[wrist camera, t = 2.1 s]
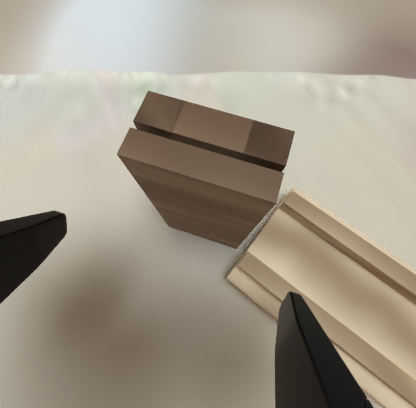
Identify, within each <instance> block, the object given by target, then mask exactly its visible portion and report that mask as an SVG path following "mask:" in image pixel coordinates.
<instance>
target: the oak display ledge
mask: <svg viewBox="0 0 416 408" xmlns="http://www.w3.org/2000/svg"><path fill="white" fill-rule="evenodd" d="M225 279H226V280H228V281H229V282H230V283H231V284H233V285H234V286H235V287H236V288H238V289H239V290H240V291H241V292H242V293H244V294H245V295H246V296H247V297H249V298H250V299H251V300H252V301H254V302H255V303H256V304H257V305H258V306H260V307H261V308H262V309H263V310H265V311H266V312H267V313H268V314H270V315H271V316H272V317H273V318H274V319H276V320H277V321H278V316H279V309H280V306H281V304H282V302H283V300H284V298H285V297H286V295H287V293H288V292H289V291H292V292H295V293H298V294H300V295H301V296H302V297H303V299H304V300H305V302H306V303H307V305H308V306H309V308H310V309H311V311H312V313H313V314H314V316H315V317H316V319H317V320H318V322H319V323H320V325H321V327H322V328H323V330H324V331H325V333H326V334H327V336H328V337H329V339H330V341H331V342H332V344H333V345H334V347H335V348H336V350H337V351H338V353H339V355H340V356H341V358H342V359H343V361H344V362H345V364H346V366H347V367H348V369H349V370H350V372H351V373H352V375H353V376H354V378H355V380H356V381H357V383H358V384H359V386H360V387H361V389H362V390H363V391H364V392H366V393H367V394H368V395H369V396H371V397H372V398H373V399H374V400H376V401H377V402H378V403H379V404H380V405H382V406H383V407H384V408H416V270H415V269H414V268H412V267H411V266H409V265H408V264H406V263H405V262H403V261H402V260H400V259H399V258H397V257H396V256H395V255H393V254H392V253H390V252H389V251H387V250H386V249H384V248H383V247H381V246H380V245H378V244H377V243H375V242H374V241H372V240H371V239H370V238H368V237H367V236H365V235H364V234H362V233H361V232H359V231H358V230H356V229H355V228H353V227H352V226H350V225H349V224H348V223H346V222H345V221H343V220H342V219H340V218H339V217H337V216H336V215H334V214H333V213H331V212H330V211H328V210H327V209H325V208H324V207H323V206H321V205H320V204H318V203H317V202H315V201H314V200H312V199H311V198H309V197H308V196H306V195H305V194H303V193H302V192H300V191H299V190H298V189H296V188H295V187H293V188H292V189H291V190H290V192H289V193H288V194H287V195H286V196H285V197H284V199H283V200H282V202H281V203H280V204H279V206H278V207H277V208H276V210H275V211H274V212H273V214H272V215H271V217H270V218H269V219H268V221H267V222H266V223H265V225H264V226H263V227H262V229H261V230H260V231H259V233H258V234H257V236H256V237H255V238H254V240H253V241H252V242H251V244H250V245H249V246H248V248H247V249H246V250H245V252H244V253H243V255H242V256H241V257H240V259H239V260H238V261H237V263H236V264H235V265H234V267H233V268H232V270H231V271H230V272H229V274H228V275H227V276H226V278H225Z"/></svg>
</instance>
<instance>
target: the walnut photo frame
mask: <svg viewBox="0 0 416 408" xmlns="http://www.w3.org/2000/svg"><path fill="white" fill-rule="evenodd" d="M133 122H134V124H135V126H136V128H137V129H134V128H130V129H129V131H128V133H127V135H126V137H125V139H124V141H123V143H122V145H121V147H120V149H119V151H118V153H117V155H118V156H119V158H120V159H121V161H122V162H123V163H124V165H125V166H126V167H127V169H128V170H129V172H130V173H131V174H132V176H133V177H134V179H135V180H136V181H137V183H138V184H139V186H140V187H141V188H142V190H143V191H144V192H145V194H146V195H147V197H148V198H149V199H150V201H151V202H152V204H153V205H154V206H155V208H156V209H157V210H158V212H159V213H160V215H161V216H162V217H163V219H164V220H165V222H166V223H167V224H168V226H170V227H173V228H176V229H179V230H182V231H185V232H188V233H191V234H194V235H197V236H200V237H203V238H206V239H209V240H212V241H215V242H218V243H221V244H224V245H227V246H230V247H233V248H236V249H237V247H238V246H239V245H240V244H241V243H242V242H243V240H244V239H245V238H246V237H247V236H248V235H249V234H250V232H251V231H252V230H253V229H254V228H255V227H256V226H257V224H258V223H259V222H260V221H261V220H262V219H263V218H264V216H265V215H266V214H267V213H268V212H269V211H270V210H271V208H272V207H273V206H274V205H275V204H276V201H277V197H278V194H279V190H280V186H281V182H282V178H283V175H284V173H282V171H283V169H284V168H285V166H286V163H287V159H288V156H289V152H290V148H291V144H292V140H293V137H294V133H295V132H294V131H291V130H287V129H283V128H280V127H276V126H273V125H269V124H266V123H262V122H258V121H255V120H251V119H248V118H244V117H240V116H237V115H233V114H230V113H226V112H222V111H219V110H215V109H212V108H208V107H204V106H201V105H197V104H194V103H190V102H186V101H183V100H179V99H176V98H172V97H168V96H165V95H161V94H158V93H154V92H151V91H148V92H147V94H146V96H145V98H144V100H143V102H142V104H141V107H140V109H139V111H138V113H137V115H136V117H135V119H134V121H133Z"/></svg>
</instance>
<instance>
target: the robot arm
mask: <svg viewBox="0 0 416 408" xmlns="http://www.w3.org/2000/svg"><path fill="white" fill-rule="evenodd" d="M66 233H67V223H66V216H65V214H64V213H61V212H58V211H50V212H45V213H40V214H35V215H30V216H25V217H21V218H16V219H11V220H6V221H1V222H0V304H1V303H2V302H3V301H4V300H5V299H6V298H7V297H8V296H9V295H10V294H11V293H12V292H13V291H14V290H15V289H16V288H17V287H18V286H19V285H20V284H21V283H22V282H23V281H24V280H25V279H26V278H27V277H29V276H30V275H31V274H32V273H33V272H34V271H35V270H36V269H37V268H38V267H39V266H40V264H41V263H42V262H43V261H44V260H45V259H46V258H47V256H48V255H49V254H50V253H51V252H52V251H53V249H54V248H55V247H56V246H57V245H58V244H59V242H60V241H61V240H62V239H63V238H64V237H65V235H66ZM275 406H276V408H374V407H373V406H372V404H371V403H370V401H369V400H367V397H366V395H365V394H364V392H363V390H362V389H361V387H360V386H359V384H358V383H357V381H356V380H355V378H354V376H353V375H352V373H351V372H350V370H349V369H348V367H347V366H346V364H345V362H344V361H343V359H342V358H341V356H340V355H339V353H338V351H337V350H336V348H335V347H334V345H333V344H332V342H331V341H330V339H329V337H328V336H327V334H326V333H325V331H324V330H323V328H322V327H321V325H320V323H319V322H318V320H317V319H316V317H315V316H314V314H313V313H312V311H311V309H310V308H309V306H308V305H307V303H306V302H305V300H304V299H303V297H302V296H301V295H300V294H298V293H295V292H292V291H289V292H288V293H287V295H286V297H285V298H284V300H283V302H282V304H281V306H280V309H279V316H278V326H277V336H276V346H275Z"/></svg>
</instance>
